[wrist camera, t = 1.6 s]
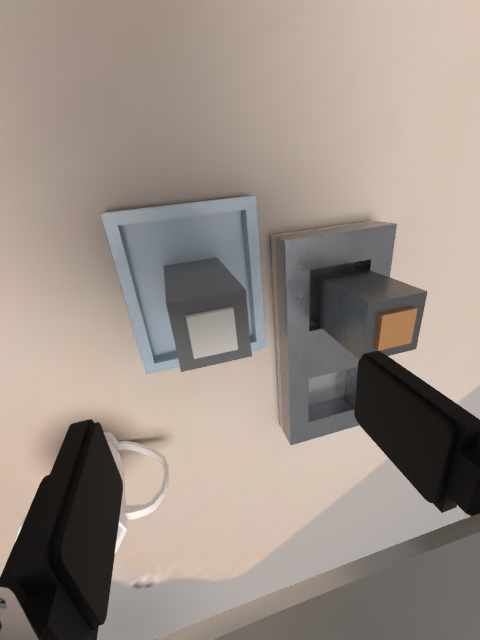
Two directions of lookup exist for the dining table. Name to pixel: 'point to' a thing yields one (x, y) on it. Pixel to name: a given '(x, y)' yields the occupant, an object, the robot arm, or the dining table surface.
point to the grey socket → (335, 320)
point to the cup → (126, 510)
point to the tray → (179, 247)
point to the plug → (206, 313)
